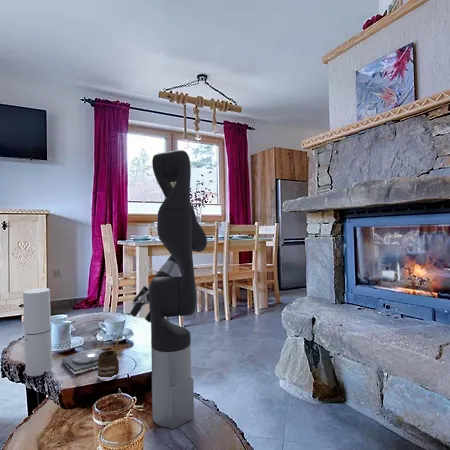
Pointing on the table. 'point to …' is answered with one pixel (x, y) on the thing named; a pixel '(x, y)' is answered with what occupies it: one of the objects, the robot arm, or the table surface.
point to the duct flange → (83, 359)
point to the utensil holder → (108, 362)
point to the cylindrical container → (37, 331)
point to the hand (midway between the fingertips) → (139, 318)
